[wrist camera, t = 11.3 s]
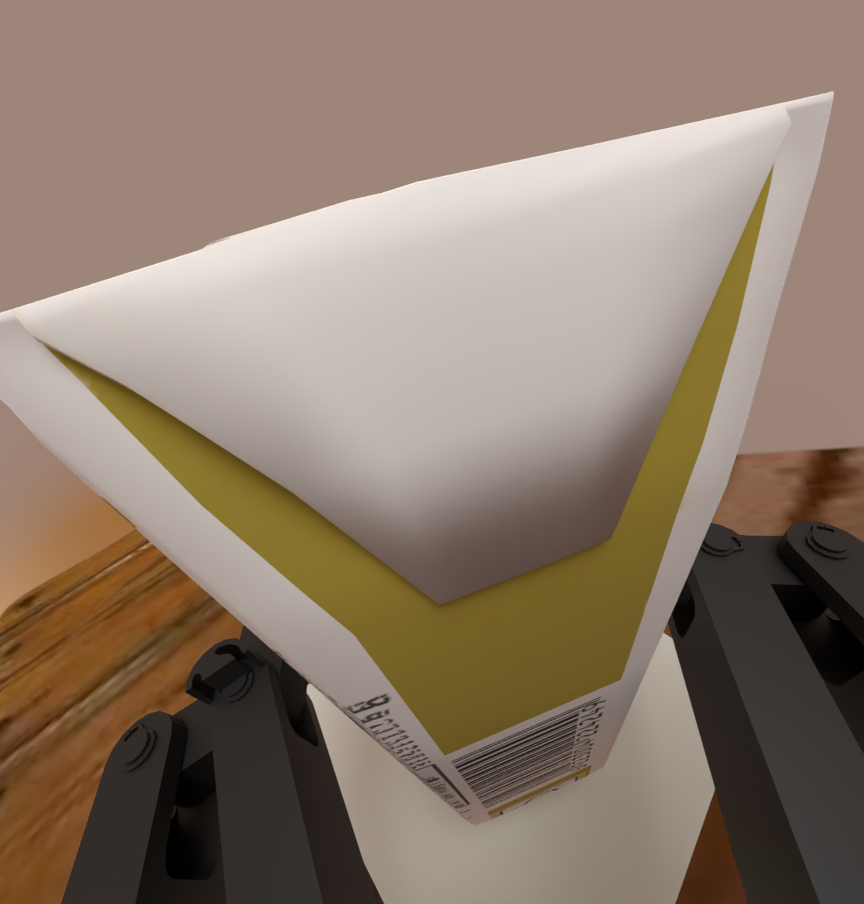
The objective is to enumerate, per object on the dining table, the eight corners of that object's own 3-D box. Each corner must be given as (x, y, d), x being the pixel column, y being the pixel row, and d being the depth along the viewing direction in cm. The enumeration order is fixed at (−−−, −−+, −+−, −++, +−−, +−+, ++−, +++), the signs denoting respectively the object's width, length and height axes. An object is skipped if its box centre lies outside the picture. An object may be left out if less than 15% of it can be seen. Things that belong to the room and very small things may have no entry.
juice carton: (447, 857, 13) (-653, 458, 1) (400, 630, 19) (184, 243, 8) (633, 771, 13) (1189, -24, 2) (525, 581, 20) (494, 162, 9)
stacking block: (486, 565, 30) (478, 519, 26) (712, 725, 19) (750, 686, 16) (328, 736, 22) (286, 706, 19) (552, 1141, 12) (554, 1250, 8)
